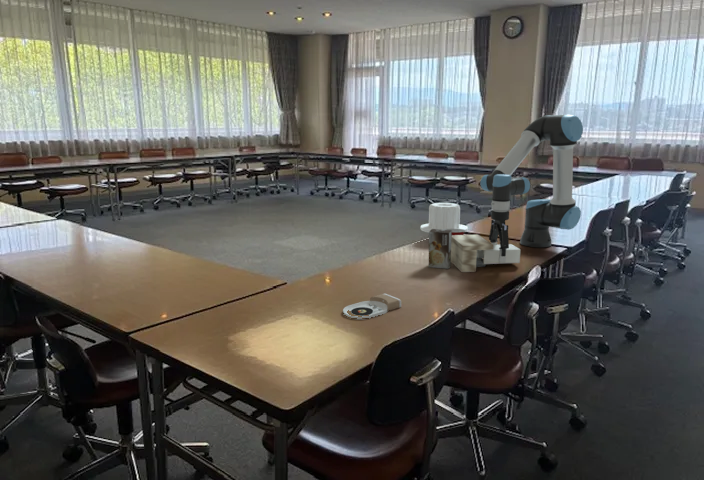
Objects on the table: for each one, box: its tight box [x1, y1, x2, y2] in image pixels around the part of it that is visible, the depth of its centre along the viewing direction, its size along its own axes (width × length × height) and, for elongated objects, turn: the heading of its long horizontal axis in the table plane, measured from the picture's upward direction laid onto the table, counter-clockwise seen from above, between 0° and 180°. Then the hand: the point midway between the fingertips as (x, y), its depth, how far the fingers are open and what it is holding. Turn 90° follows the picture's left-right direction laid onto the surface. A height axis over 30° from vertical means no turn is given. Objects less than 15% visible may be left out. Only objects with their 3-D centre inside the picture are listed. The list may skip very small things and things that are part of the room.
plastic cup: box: [443, 229, 466, 235], centre depth 243 cm, size 11×11×12 cm
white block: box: [476, 243, 521, 265], centre depth 224 cm, size 16×10×6 cm, turn 95°
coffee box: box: [428, 229, 452, 270], centre depth 221 cm, size 9×6×16 cm
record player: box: [342, 292, 402, 320], centre depth 172 cm, size 12×3×20 cm
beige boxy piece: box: [451, 234, 493, 273], centre depth 223 cm, size 13×20×12 cm, turn 5°
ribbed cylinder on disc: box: [419, 202, 469, 234], centre depth 271 cm, size 25×25×19 cm
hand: (497, 259), depth 224 cm, fingers closed on white block, 10 cm apart
